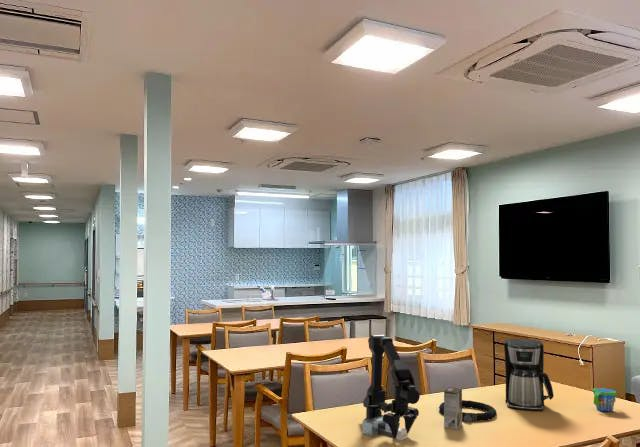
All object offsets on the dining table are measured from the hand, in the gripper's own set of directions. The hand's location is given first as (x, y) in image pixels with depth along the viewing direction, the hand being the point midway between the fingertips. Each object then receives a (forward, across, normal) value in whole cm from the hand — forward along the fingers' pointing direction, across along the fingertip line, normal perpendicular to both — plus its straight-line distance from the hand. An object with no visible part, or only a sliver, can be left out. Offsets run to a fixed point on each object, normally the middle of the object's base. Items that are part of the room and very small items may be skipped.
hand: (400, 435), depth 225 cm
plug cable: (+1, 0, -8) cm, 8 cm away
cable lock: (+2, -55, +2) cm, 55 cm away
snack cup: (+1, -114, +48) cm, 124 cm away
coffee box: (+1, -32, +6) cm, 33 cm away
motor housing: (+1, 0, -12) cm, 13 cm away
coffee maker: (+1, -97, +16) cm, 98 cm away
